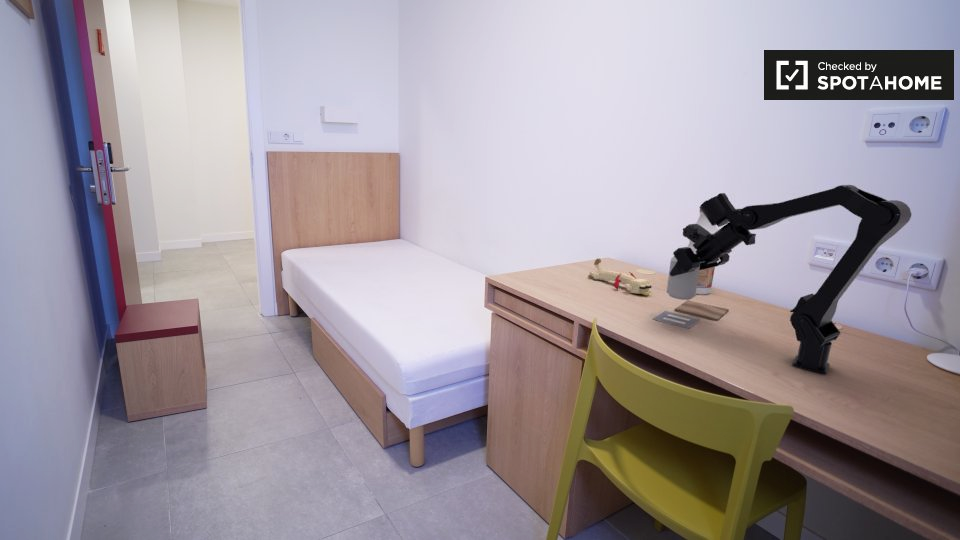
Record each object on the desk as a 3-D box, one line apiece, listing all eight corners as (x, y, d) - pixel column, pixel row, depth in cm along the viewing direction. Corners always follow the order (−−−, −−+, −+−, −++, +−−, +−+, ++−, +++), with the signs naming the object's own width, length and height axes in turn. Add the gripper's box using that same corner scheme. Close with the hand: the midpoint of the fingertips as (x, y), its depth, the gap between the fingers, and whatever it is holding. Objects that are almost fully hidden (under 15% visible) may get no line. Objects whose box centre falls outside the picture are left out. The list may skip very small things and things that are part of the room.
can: (697, 301, 132) (704, 258, 129) (668, 299, 134) (674, 256, 131) (691, 294, 139) (697, 252, 136) (664, 291, 141) (669, 250, 138)
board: (717, 321, 138) (717, 319, 138) (674, 311, 145) (674, 309, 145) (728, 311, 147) (728, 309, 147) (687, 302, 154) (687, 300, 154)
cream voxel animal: (583, 283, 176) (638, 297, 155) (584, 259, 175) (639, 270, 154) (603, 280, 181) (659, 293, 160) (604, 256, 180) (661, 267, 159)
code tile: (689, 328, 132) (689, 328, 132) (652, 319, 138) (652, 318, 138) (700, 319, 139) (700, 319, 139) (665, 311, 145) (665, 310, 145)
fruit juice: (674, 287, 170) (686, 206, 163) (698, 286, 172) (711, 206, 165) (692, 295, 161) (705, 210, 154) (716, 294, 164) (730, 210, 157)
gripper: (725, 213, 133) (682, 246, 144) (685, 217, 122) (642, 252, 134) (749, 247, 129) (704, 278, 140) (710, 254, 118) (664, 287, 130)
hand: (679, 273), depth 136 cm, fingers closed on can, 7 cm apart
